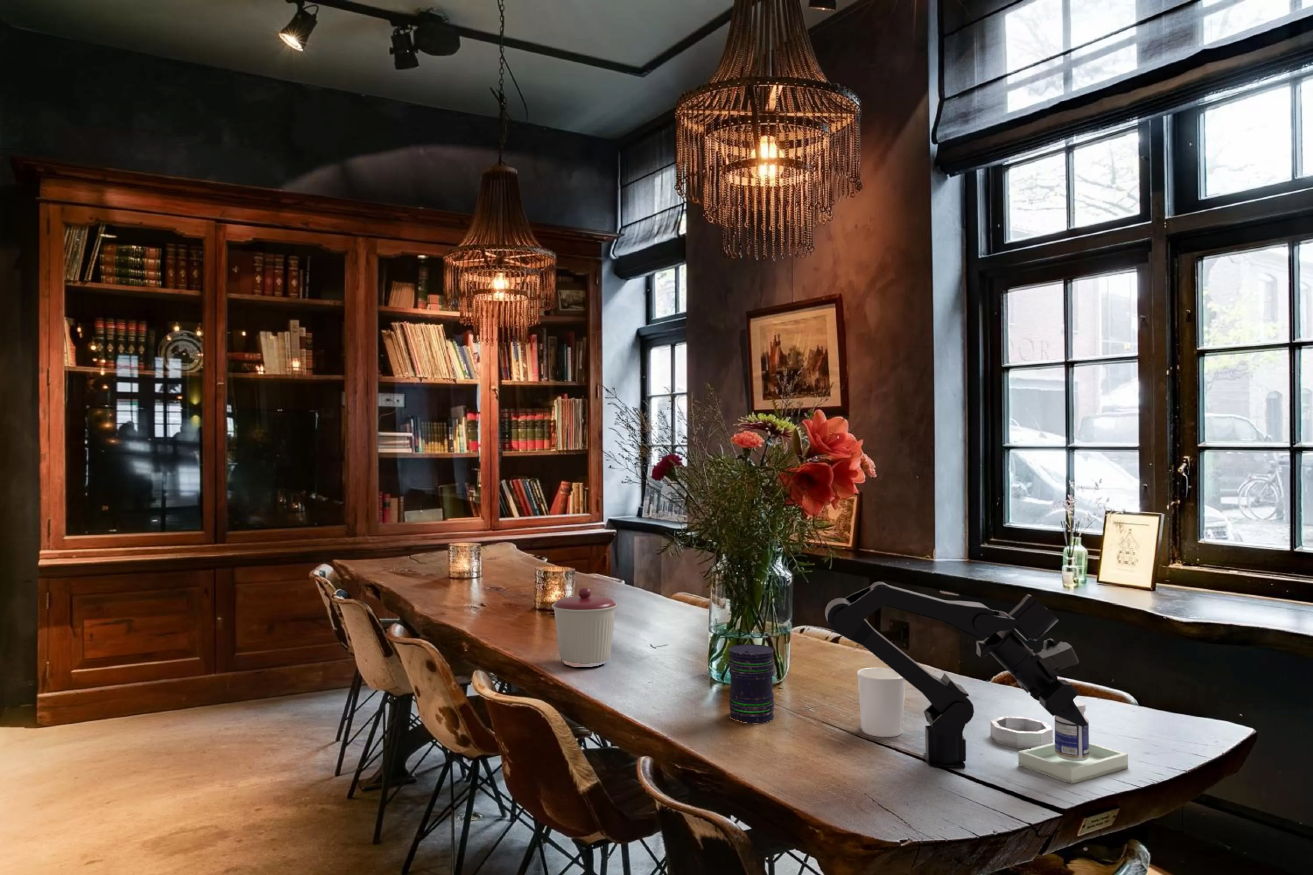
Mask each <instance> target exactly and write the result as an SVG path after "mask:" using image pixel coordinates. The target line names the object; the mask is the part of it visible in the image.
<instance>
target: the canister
mask: <svg viewBox="0 0 1313 875" xmlns="http://www.w3.org/2000/svg"><path fill="white" fill-rule="evenodd" d="M577 594H578V595H574V596H568V597H563V598H559V599H558V600H556V601H555V602H554V603H552V604H551V608H552V609H553V610H554V621H555V629H556V637H557V638H556V639H557V646H558V653H559V658H560V660H561V659H562V660H563V661H567V662H571V663H580V664H590V663H600V662H603V661H607V660H608V659H609V660H610V656H611V652H612V651H611V650H612V643H613V637H614V636H613V635H614V625H615V616H616V608H617V607H618V605H619V604H618V603H617V602H616V601H614V600H613V599H611V598H609V597H606V596H602V595H601V596H599V595H592V591H591V588H589V587H586V586H585V587H580V588H579V589H578V593H577ZM609 660H608V661H609ZM608 661H607V662H608Z"/></svg>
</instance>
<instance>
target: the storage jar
mask: <svg viewBox="0 0 1313 875" xmlns="http://www.w3.org/2000/svg"><path fill="white" fill-rule="evenodd" d="M728 650H729V651H728V653H729V655H728V656H729V658H728V666H729V667H728V668H729V669H728V672H729V675H730V690H729V701H728V705H729V712H730V713H729V718H730V717H731V718H733V719H735V720H739V721H742V722H747V723H762V724H765V723H764V722H767V721H770V720H772V721H774V719H775V714H774V710H775V700H774V699H775V696H774V695H775V693H774V692H773V691H774V690H773V689H774V688H773V687H774V686H773V677H774V675H775V674H774V673H775V669H774V667H775V661H774V648H773V647H772V646H768V645H763V644H755V643H754V644H752V643H751V644H750V643H749V644H748V643H746V644H745V643H744V644H735V645H731V646H730V647H729V649H728ZM773 718H774V719H773ZM770 722H771V721H770ZM767 723H768V722H767Z"/></svg>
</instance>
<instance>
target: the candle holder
mask: <svg viewBox="0 0 1313 875" xmlns="http://www.w3.org/2000/svg"><path fill="white" fill-rule="evenodd" d="M856 674H857V680H858V681H857V684H858V700H859V714H860V727H861V731H862V732H863V733H864V734H866V735H869V736H874V737H877V738H878V737H880V738H893V737H898V736H900V735H902V734H903V732H904V714H905V712H904V711H905V696H906V695H905V694H906V680H905V679H904V678H903V677H901V676H900V675H899V674H898V673H896V672H895V671H894V670H893V669H891V668H890V667H889V668H888V667H866V668H861V669H859V670H857V672H856Z"/></svg>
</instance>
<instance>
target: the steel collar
mask: <svg viewBox="0 0 1313 875" xmlns="http://www.w3.org/2000/svg"><path fill="white" fill-rule="evenodd" d="M989 721H990V722H989V723H990V736H991V737H992V739H993V740H994V742H995V743H998V744H1001V745H1005V746H1008V745H1009V746H1008V747H1011V746H1012V747H1011V748H1015V749H1029V748H1035V747H1039V746H1043V745H1047V744H1051V743H1054V740H1053V739H1054V737H1053V735H1054V734H1053V728H1052V727H1051V725H1049V723H1047V722H1046V721H1042V720H1039V719H1034V718H1029V717H1027V716H999V717H997V718H994V719H991V720H989Z"/></svg>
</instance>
